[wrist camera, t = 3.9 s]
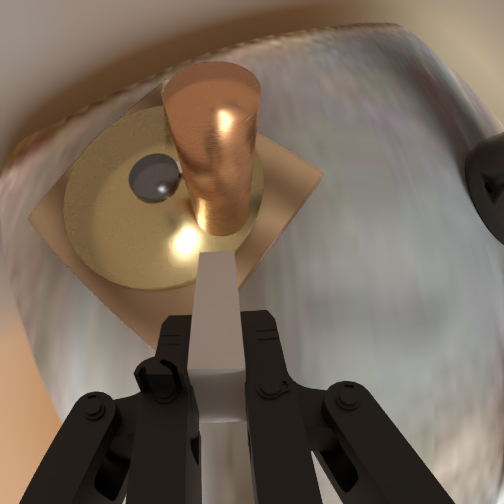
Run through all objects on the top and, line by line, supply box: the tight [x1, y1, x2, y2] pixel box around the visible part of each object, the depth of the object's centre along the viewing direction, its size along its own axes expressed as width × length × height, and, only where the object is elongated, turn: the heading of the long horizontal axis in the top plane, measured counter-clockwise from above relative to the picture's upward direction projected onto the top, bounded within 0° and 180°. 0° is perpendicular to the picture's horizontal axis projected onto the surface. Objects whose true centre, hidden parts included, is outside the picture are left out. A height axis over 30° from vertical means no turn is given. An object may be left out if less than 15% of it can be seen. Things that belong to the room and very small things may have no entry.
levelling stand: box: [27, 79, 323, 350], centre depth 24 cm, size 20×20×5 cm
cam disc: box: [64, 61, 264, 292], centre depth 18 cm, size 17×17×14 cm
